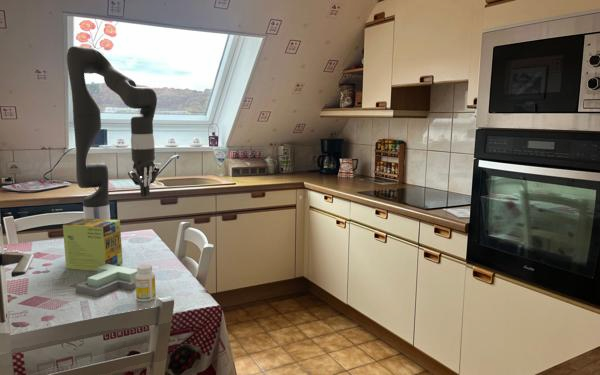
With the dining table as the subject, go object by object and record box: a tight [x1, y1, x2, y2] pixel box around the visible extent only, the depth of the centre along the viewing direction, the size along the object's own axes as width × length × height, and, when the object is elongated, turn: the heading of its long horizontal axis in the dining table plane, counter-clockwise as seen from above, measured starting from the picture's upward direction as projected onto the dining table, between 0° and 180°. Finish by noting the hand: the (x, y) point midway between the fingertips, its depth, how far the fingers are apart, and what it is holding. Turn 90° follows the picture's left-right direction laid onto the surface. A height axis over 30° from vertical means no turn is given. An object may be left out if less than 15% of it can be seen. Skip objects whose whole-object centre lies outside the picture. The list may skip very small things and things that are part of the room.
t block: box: [86, 264, 138, 288], centre depth 150 cm, size 12×14×4 cm
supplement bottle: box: [135, 263, 157, 303], centre depth 139 cm, size 5×5×10 cm
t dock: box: [75, 272, 136, 298], centre depth 147 cm, size 19×10×2 cm, turn 63°
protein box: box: [62, 217, 124, 272], centre depth 167 cm, size 10×15×16 cm
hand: (145, 196), depth 169 cm, fingers closed
